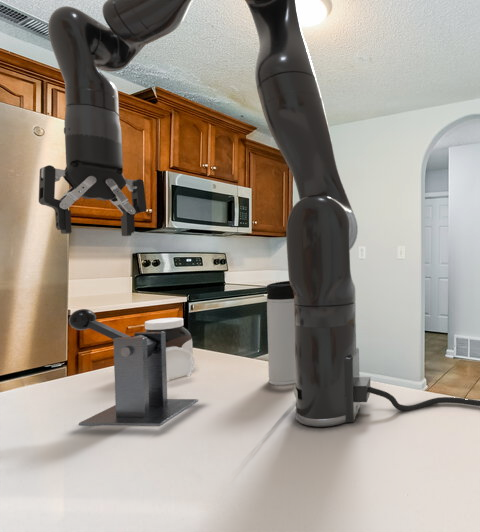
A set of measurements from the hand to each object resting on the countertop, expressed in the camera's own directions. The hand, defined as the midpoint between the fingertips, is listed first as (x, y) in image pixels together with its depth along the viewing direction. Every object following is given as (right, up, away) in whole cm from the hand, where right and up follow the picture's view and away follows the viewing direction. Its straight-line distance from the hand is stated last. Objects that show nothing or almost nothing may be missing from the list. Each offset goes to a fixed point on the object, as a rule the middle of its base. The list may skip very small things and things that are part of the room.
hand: (98, 234), depth 64 cm
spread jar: (+5, -28, +13) cm, 31 cm away
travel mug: (+30, -28, +7) cm, 42 cm away
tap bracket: (+12, -29, -7) cm, 32 cm away
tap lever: (+7, -17, -7) cm, 20 cm away
